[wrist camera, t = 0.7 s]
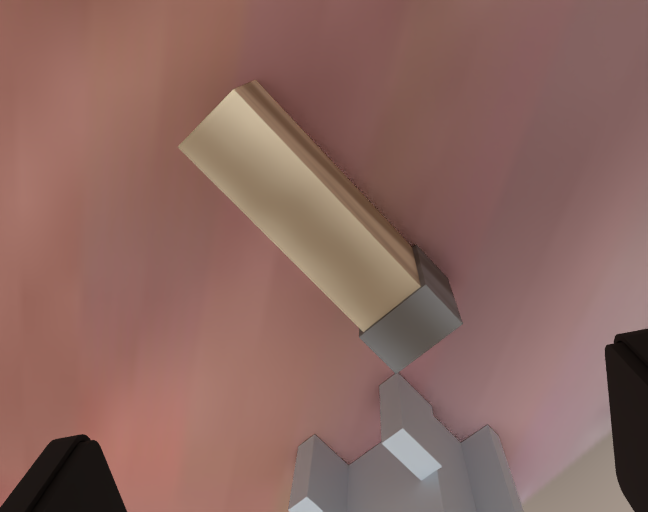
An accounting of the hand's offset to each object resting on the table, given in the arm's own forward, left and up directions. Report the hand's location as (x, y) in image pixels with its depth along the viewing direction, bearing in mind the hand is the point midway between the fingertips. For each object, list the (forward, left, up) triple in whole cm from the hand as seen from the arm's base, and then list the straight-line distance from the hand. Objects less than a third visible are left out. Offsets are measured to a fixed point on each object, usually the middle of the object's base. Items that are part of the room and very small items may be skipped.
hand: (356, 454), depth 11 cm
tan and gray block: (+3, 0, -26) cm, 26 cm away
